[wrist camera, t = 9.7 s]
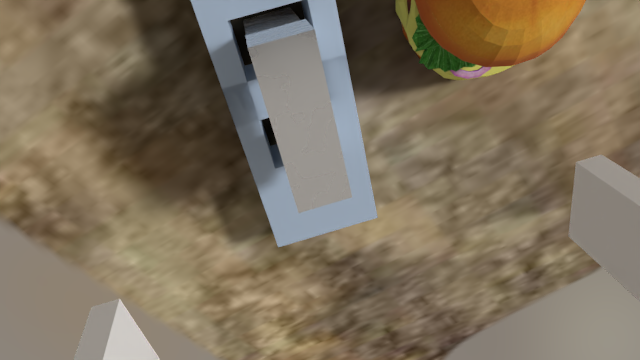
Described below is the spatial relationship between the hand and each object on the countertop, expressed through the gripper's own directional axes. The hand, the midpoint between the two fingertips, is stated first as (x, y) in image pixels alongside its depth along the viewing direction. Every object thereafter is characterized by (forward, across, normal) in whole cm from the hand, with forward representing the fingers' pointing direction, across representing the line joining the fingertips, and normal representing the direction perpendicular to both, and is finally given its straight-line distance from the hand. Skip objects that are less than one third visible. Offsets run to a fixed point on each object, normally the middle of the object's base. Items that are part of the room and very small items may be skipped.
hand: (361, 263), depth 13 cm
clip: (+20, 0, 0) cm, 20 cm away
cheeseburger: (+20, +12, +2) cm, 24 cm away
